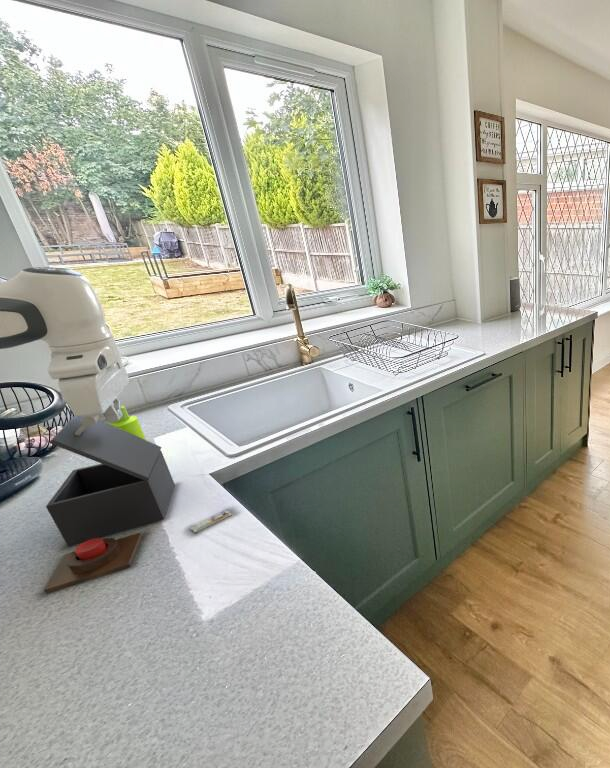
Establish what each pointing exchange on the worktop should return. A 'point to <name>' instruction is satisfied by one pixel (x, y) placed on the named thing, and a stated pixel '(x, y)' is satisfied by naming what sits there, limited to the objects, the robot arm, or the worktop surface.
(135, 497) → the grey lidded storage box
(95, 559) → the button block
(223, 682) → the worktop surface
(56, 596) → the worktop surface
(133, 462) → the box lid
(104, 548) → the button
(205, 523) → the granola bar
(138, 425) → the soap dispenser
